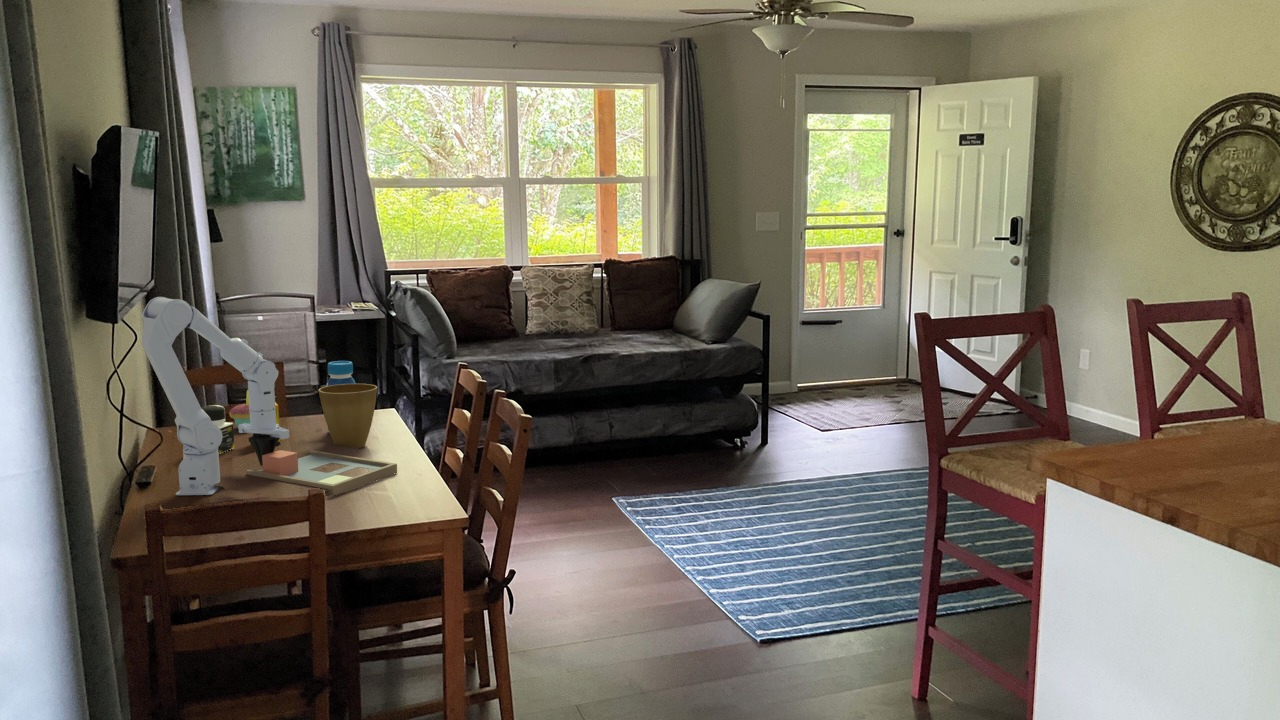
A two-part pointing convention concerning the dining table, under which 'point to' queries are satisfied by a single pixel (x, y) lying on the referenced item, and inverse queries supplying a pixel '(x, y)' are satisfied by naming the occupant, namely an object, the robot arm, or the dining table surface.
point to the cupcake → (241, 412)
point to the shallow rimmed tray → (330, 479)
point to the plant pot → (349, 412)
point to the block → (280, 462)
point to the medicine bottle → (221, 426)
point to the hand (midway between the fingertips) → (265, 464)
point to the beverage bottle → (340, 373)
